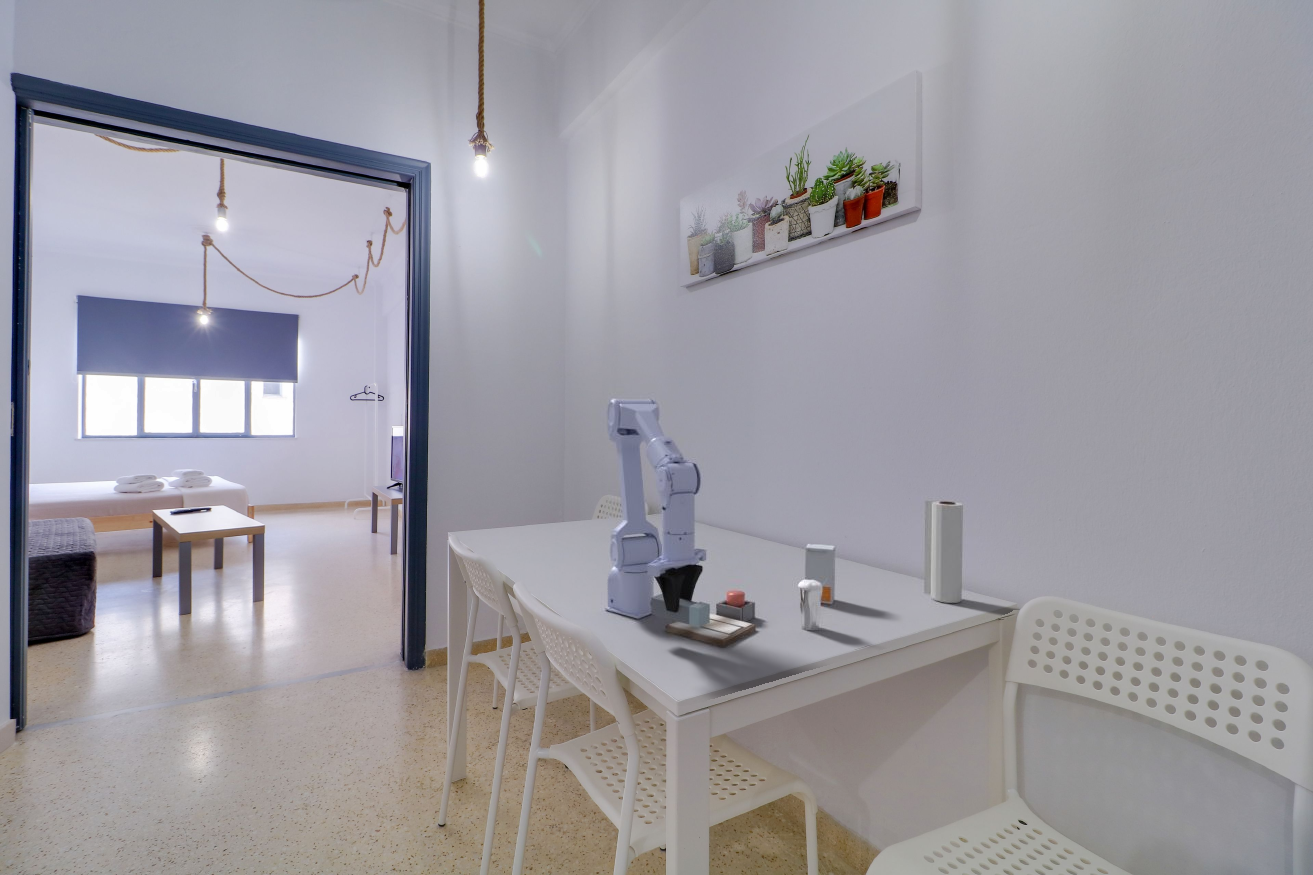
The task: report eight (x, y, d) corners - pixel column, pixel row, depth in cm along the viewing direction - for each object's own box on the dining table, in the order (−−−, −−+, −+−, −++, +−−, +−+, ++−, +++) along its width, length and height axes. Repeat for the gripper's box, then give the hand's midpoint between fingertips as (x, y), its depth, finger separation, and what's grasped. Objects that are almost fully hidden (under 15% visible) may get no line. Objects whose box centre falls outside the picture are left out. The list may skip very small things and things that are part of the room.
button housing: (716, 618, 120) (716, 603, 120) (731, 611, 125) (731, 596, 125) (740, 624, 117) (740, 609, 117) (755, 616, 121) (755, 602, 121)
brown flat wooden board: (665, 630, 114) (665, 624, 113) (699, 615, 122) (699, 609, 122) (723, 647, 105) (723, 640, 105) (755, 629, 114) (755, 623, 114)
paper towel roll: (966, 604, 129) (968, 504, 128) (937, 603, 129) (939, 504, 128) (951, 593, 136) (952, 499, 135) (924, 593, 136) (925, 499, 135)
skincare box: (804, 601, 131) (804, 547, 130) (807, 596, 135) (807, 543, 134) (833, 604, 128) (833, 549, 128) (835, 599, 132) (835, 545, 132)
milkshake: (822, 634, 111) (822, 581, 111) (794, 629, 114) (794, 576, 114) (829, 627, 115) (830, 575, 115) (802, 622, 118) (802, 571, 118)
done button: (723, 608, 120) (723, 593, 120) (732, 603, 123) (732, 589, 123) (738, 611, 118) (738, 596, 118) (748, 607, 121) (748, 592, 121)
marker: (646, 613, 108) (646, 595, 108) (657, 608, 111) (657, 591, 111) (698, 627, 101) (698, 608, 101) (709, 622, 104) (709, 603, 103)
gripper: (670, 541, 97) (671, 624, 98) (720, 527, 108) (720, 602, 109) (637, 536, 101) (638, 615, 102) (688, 523, 113) (688, 595, 113)
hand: (678, 608), depth 106 cm, fingers closed on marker, 3 cm apart
